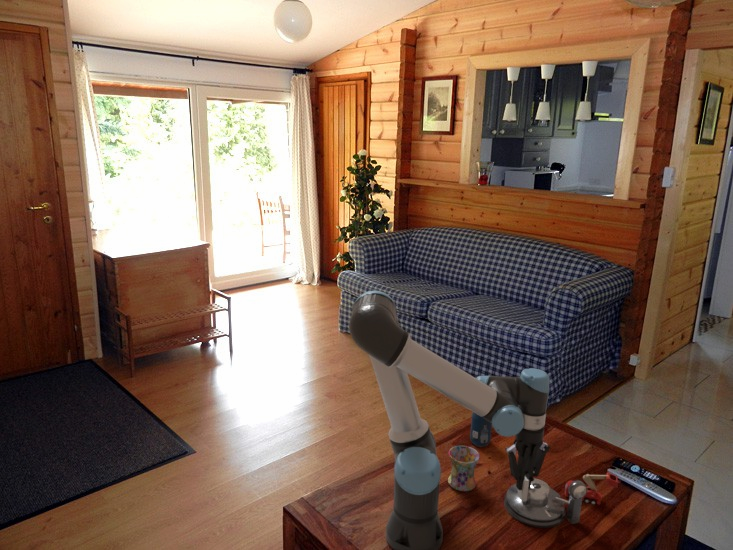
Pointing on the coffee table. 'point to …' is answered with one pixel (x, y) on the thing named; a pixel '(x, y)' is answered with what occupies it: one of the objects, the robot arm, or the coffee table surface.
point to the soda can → (480, 431)
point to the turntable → (535, 514)
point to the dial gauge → (574, 500)
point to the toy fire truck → (594, 487)
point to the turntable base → (532, 523)
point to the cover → (538, 494)
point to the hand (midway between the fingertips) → (522, 497)
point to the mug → (463, 467)
